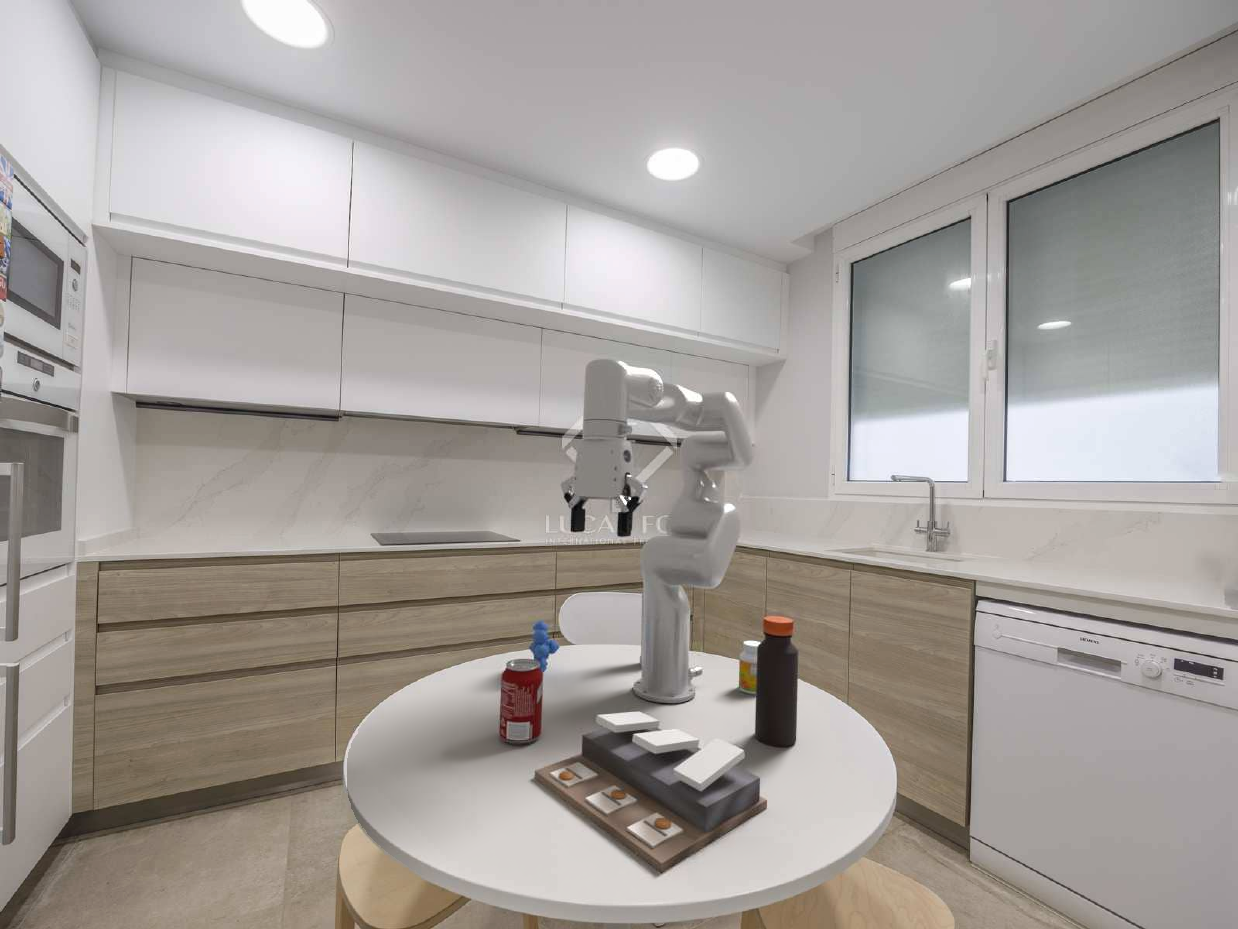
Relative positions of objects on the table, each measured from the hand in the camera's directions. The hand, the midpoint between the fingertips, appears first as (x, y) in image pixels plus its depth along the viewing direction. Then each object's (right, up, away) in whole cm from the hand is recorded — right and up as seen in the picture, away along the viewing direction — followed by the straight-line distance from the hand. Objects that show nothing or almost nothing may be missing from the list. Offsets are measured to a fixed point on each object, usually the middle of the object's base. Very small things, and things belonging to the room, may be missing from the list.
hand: (600, 534), depth 95 cm
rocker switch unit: (+7, -33, -18) cm, 38 cm away
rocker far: (+4, -28, -9) cm, 30 cm away
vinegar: (+30, -35, 0) cm, 46 cm away
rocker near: (+15, -28, -21) cm, 38 cm away
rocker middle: (+10, -28, -15) cm, 33 cm away
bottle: (+11, -35, +37) cm, 52 cm away
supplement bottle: (+31, -36, +23) cm, 52 cm away
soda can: (-13, -33, -3) cm, 36 cm away
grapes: (-13, -34, +27) cm, 46 cm away
